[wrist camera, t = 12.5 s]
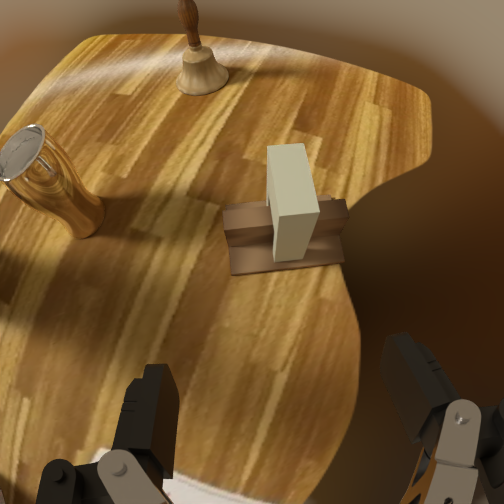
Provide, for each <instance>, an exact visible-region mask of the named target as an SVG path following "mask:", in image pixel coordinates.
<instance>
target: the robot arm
mask: <svg viewBox="0 0 504 504" xmlns="http://www.w3.org/2000/svg"><path fill="white" fill-rule="evenodd" d="M441 368H442V367H441V366H440V364H439V363H438V362H437V361H436V358H435V356H434V355H433V353H432V352H431V350H430V349H428V348H427V347H426V346H424V345H423V344H421V343H420V342H418V343H414V341H413V340H412V338H411V337H410V335H409V334H408V333H407V332H403V333H399V334H394V335H390V336H387V338H386V341H385V345H384V349H383V354H382V358H381V362H380V374H381V377H382V380H383V382H384V384H385V386H386V388H387V391H388V393H389V395H390V397H391V399H392V401H393V403H394V405H395V408H396V410H397V412H398V415H399V417H400V419H401V421H402V424H403V426H404V428H405V431H406V433H407V435H408V437H409V440H410V442H411V444H414V443H417V442H420V441H421V442H422V444H423V448H422V450H421V453H420V457H419V460H418V462H417V465H416V468H415V471H414V474H413V477H412V479H411V482H410V485H409V487H408V490H407V492H406V494H405V495H404V497H403V499H402V500H401V502H400V504H471V502H472V498H473V494H474V490H475V486H476V482H477V477H478V475H479V478H480V480H481V483H482V486H483V488H484V491H485V494H486V497H487V499H488V502H489V504H504V398H503V399H502V400H501V402H500V403H499V405H497V406H488V407H477V405H475V404H474V403H473V402H471V401H469V400H464V399H461V397H460V396H459V394H458V393H457V391H456V389H455V388H454V387H453V385H452V383H451V381H450V380H449V378H448V377H447V375H446V374H445V372H444V370H443V369H441ZM178 414H179V393H178V389H177V387H176V384H175V382H174V379H173V376H172V374H171V371H170V369H169V366H168V364H147V365H146V366H145V369H144V373H143V378H134V380H133V381H132V382H131V384H130V385H129V386H128V388H127V389H126V393H125V397H124V403H123V404H122V408H121V413H120V416H119V421H118V425H117V429H116V433H115V437H114V442H113V446H112V449H111V451H109V452H107V453H106V454H104V455H103V456H102V457H101V459H100V460H99V461H98V462H95V463H91V464H85V465H78V466H73V465H72V464H71V463H70V462H68V461H67V460H64V459H55V460H53V461H51V462H49V463H48V464H47V465H46V466H45V467H44V469H43V472H42V476H41V480H40V485H39V489H38V494H37V499H36V504H174V503H173V502H172V501H171V499H170V498H169V497H168V496H167V494H166V493H165V492H164V490H163V489H162V486H163V479H173V468H174V456H175V444H176V434H177V423H178ZM474 465H475V467H474Z"/></svg>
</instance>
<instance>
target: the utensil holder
mask: <svg viewBox="0 0 504 504" xmlns="http://www.w3.org/2000/svg"><path fill="white" fill-rule="evenodd" d="M0 504H5V500H4V497H3V494H2V492H1V489H0Z"/></svg>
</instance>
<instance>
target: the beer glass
mask: <svg viewBox="0 0 504 504" xmlns="http://www.w3.org/2000/svg"><path fill="white" fill-rule="evenodd" d="M0 181H1V182H2V183H3V184H4V185H5V186H6V188H7V189H8V190H9V191H10V192H11V193H12V194H13V195H14V196H15V197H17V198H18V199H19V200H20V201H21V202H23V203H24V204H25V205H27V206H28V207H30V208H31V209H33V210H35V211H37V212H39V213H41V214H43V215H45V216H48V217H50V218H52V219H54V220H56V221H58V222H59V223H61V224H62V225H63V227H64V228H65V229H66V231H67V232H68V233H69V234H70V235H71V236H72V237H74V238H77V239H83V238H86V237H89V236H90V235H92V234H93V233H95V232H96V231H97V229H98V228H99V227H100V225H101V224H102V222H103V219H104V215H105V207H104V204H103V202H102V200H101V199H100V198H99V197H97V196H96V195H94V194H92V193H91V192H89V191H88V190H87V188H86V187H85V186H84V184H83V182H82V180H81V178H80V176H79V174H78V172H77V170H76V168H75V166H74V164H73V163H72V161H71V159H70V158H69V156H68V155H67V153H66V152H65V151H64V149H63V148H62V147H61V146H60V145H59V144H58V142H57V141H56V140H55V139H54V138H53V137H52V136H51V135H50V134H49V133H48V132H47V131H46V130H45V129H44V128H43V126H41V125H40V124H30V125H28V126H25V127H23V128H22V129H20V130H19V131H17V132H16V133H15V134H14V135H13V136H12V137H11V138H10V139H9V140H8V141H7V142H6V144H5V145H4V147H3V148H2V150H1V151H0Z"/></svg>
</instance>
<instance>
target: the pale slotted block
mask: <svg viewBox="0 0 504 504" xmlns="http://www.w3.org/2000/svg"><path fill="white" fill-rule="evenodd" d="M267 206H271V213H272V220H273V227H274V242H273V257H274V262H282V261H290V260H299V259H303V257H304V254H305V252H306V249H307V246H308V244H309V241H310V238H311V235H312V233H313V230H314V227H315V224H316V222H317V219H318V216H319V213H320V210H319V206H318V201H317V197H316V192H315V188H314V184H313V179H312V175H311V171H310V167H309V163H308V158H307V154H306V150H305V146H304V143H298V144H285V145H273V146H267Z"/></svg>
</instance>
